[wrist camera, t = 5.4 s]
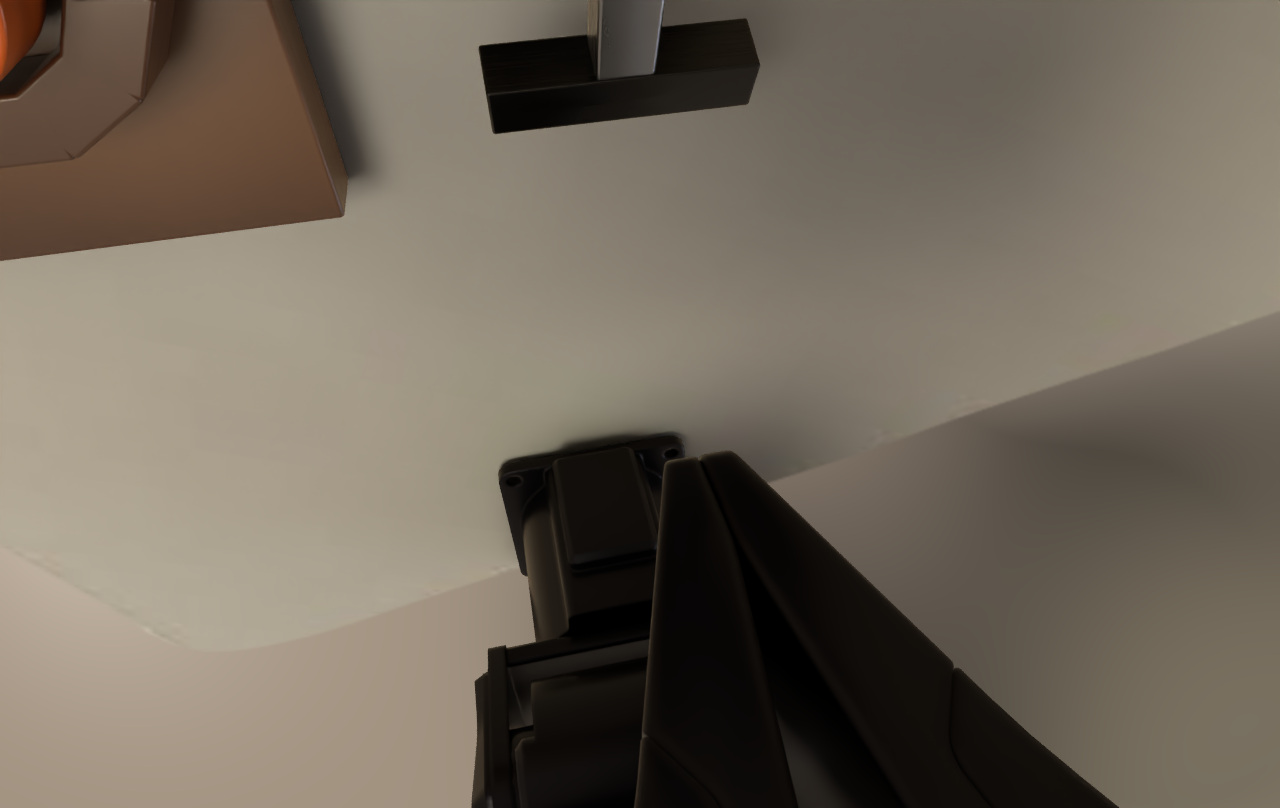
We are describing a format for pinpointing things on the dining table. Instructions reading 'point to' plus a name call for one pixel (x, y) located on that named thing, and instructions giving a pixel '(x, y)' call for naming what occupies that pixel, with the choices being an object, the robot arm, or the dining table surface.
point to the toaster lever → (619, 69)
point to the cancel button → (19, 30)
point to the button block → (162, 126)
